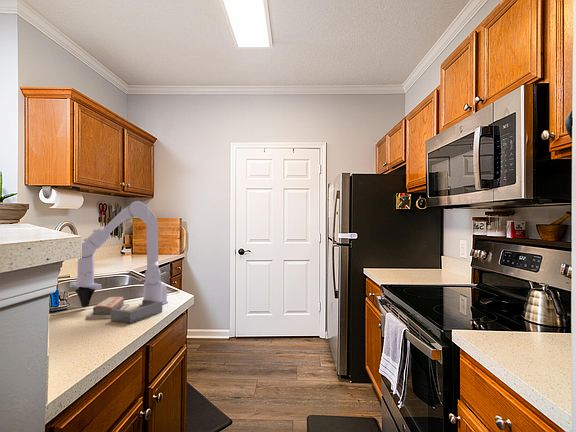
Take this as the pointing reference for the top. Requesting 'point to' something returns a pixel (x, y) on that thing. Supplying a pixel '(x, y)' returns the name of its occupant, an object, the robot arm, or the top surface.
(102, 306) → the packaged product
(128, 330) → the top surface
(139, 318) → the dark grey slab
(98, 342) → the top surface
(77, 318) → the top surface
